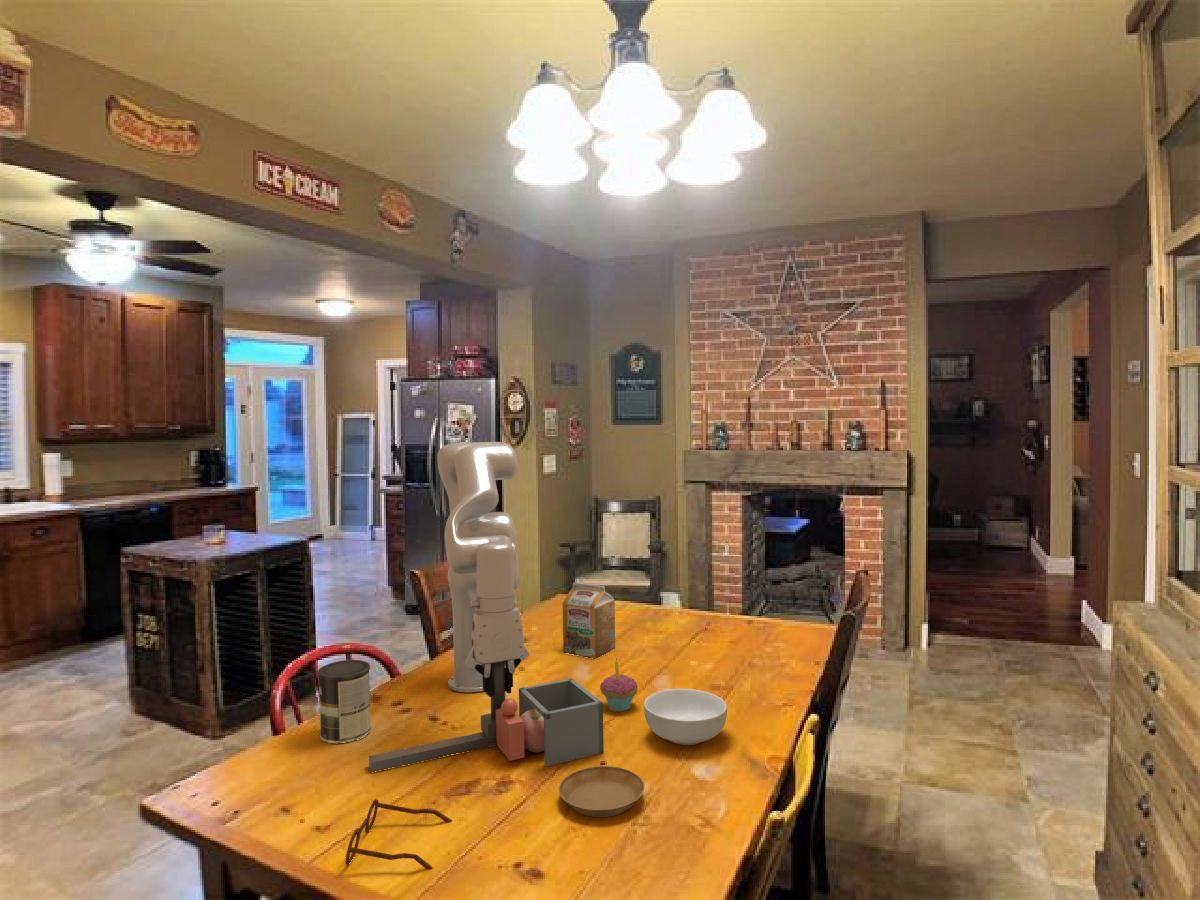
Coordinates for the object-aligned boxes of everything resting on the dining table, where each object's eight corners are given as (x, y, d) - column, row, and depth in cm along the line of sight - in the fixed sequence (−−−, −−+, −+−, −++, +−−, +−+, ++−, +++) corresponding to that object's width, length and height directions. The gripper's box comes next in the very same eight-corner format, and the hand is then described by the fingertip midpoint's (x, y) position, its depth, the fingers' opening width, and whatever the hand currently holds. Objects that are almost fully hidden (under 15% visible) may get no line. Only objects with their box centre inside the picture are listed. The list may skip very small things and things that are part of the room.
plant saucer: (578, 834, 115) (578, 817, 115) (546, 791, 129) (546, 776, 129) (660, 811, 121) (660, 796, 121) (622, 772, 135) (621, 758, 135)
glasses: (373, 823, 120) (372, 793, 119) (452, 823, 119) (451, 793, 119) (343, 873, 106) (342, 840, 106) (432, 873, 106) (431, 840, 106)
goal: (519, 735, 151) (518, 688, 150) (572, 724, 156) (571, 678, 155) (546, 766, 137) (545, 714, 137) (603, 752, 142) (602, 702, 142)
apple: (508, 753, 142) (508, 713, 142) (530, 738, 149) (530, 700, 149) (542, 763, 139) (542, 722, 138) (563, 747, 145) (563, 708, 145)
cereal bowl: (673, 763, 138) (672, 726, 137) (629, 730, 152) (629, 697, 152) (744, 743, 146) (744, 708, 145) (696, 714, 160) (696, 682, 160)
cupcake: (634, 716, 160) (633, 662, 159) (596, 713, 161) (595, 660, 161) (640, 701, 168) (639, 649, 168) (604, 698, 170) (603, 648, 169)
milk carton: (615, 649, 206) (614, 582, 205) (595, 659, 197) (594, 590, 196) (584, 643, 212) (583, 578, 211) (563, 653, 203) (562, 586, 202)
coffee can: (313, 745, 148) (311, 677, 147) (328, 724, 158) (325, 660, 157) (365, 743, 149) (363, 675, 148) (376, 722, 159) (374, 658, 158)
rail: (368, 766, 138) (368, 756, 138) (504, 737, 150) (504, 727, 150) (371, 773, 136) (370, 762, 136) (509, 742, 148) (508, 733, 147)
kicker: (481, 735, 149) (479, 657, 148) (509, 729, 152) (507, 652, 151) (502, 762, 137) (500, 678, 136) (531, 755, 140) (530, 673, 139)
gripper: (460, 613, 140) (463, 707, 141) (540, 602, 147) (542, 691, 148) (451, 604, 147) (453, 694, 148) (527, 594, 154) (529, 680, 155)
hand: (498, 692), depth 148 cm, fingers open, 3 cm apart
